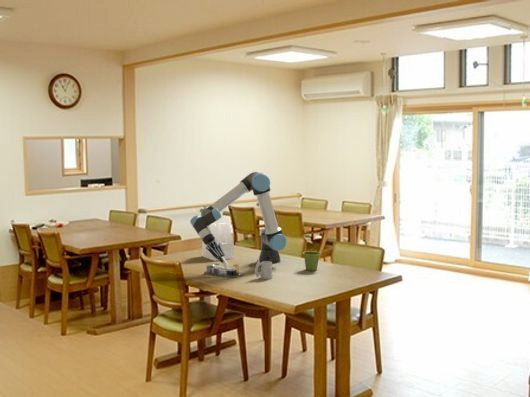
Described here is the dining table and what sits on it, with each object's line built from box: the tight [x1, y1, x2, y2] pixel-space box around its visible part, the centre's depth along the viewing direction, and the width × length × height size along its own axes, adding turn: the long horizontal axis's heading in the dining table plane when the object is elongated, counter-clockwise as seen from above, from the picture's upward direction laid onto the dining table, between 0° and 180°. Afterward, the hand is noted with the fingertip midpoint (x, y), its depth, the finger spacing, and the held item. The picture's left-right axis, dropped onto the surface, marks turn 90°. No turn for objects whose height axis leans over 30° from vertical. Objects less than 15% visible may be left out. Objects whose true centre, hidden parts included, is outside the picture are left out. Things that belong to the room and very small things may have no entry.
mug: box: [254, 259, 274, 280], centre depth 375 cm, size 8×12×12 cm, turn 116°
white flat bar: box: [210, 263, 235, 271], centre depth 387 cm, size 18×5×2 cm, turn 57°
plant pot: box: [302, 250, 322, 272], centre depth 399 cm, size 12×12×11 cm
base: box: [203, 263, 245, 279], centre depth 386 cm, size 24×10×7 cm, turn 57°
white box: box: [201, 221, 235, 262], centre depth 439 cm, size 19×15×25 cm
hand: (226, 265), depth 384 cm, fingers closed
